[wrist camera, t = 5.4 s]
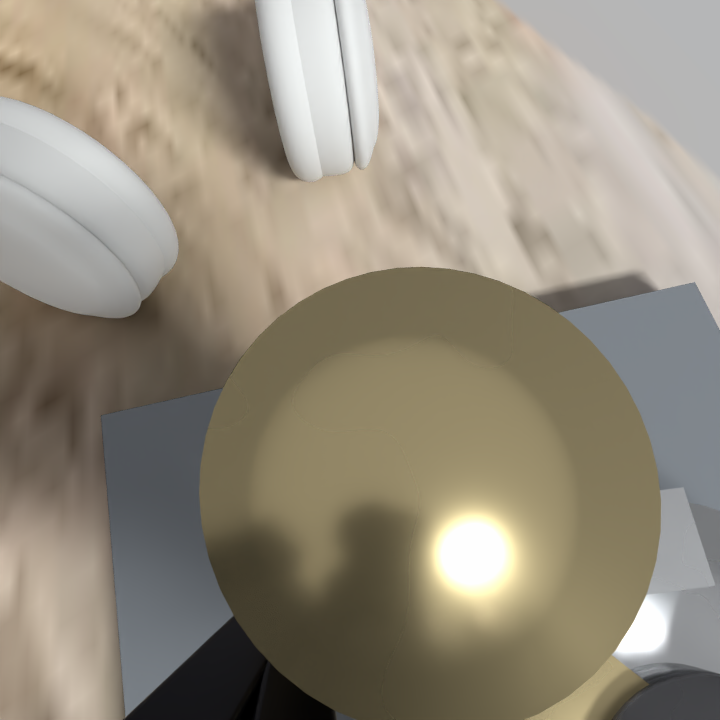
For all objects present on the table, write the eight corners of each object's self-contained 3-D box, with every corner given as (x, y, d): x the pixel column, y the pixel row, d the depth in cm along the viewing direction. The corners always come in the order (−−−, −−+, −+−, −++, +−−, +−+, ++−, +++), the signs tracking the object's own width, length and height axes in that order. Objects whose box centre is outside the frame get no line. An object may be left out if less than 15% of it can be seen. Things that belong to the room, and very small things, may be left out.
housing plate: (1025, 1019, 13) (1115, 1079, 12) (205, 1337, 12) (181, 1460, 10) (671, 302, 20) (698, 279, 19) (120, 427, 18) (98, 413, 17)
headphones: (484, -50, 16) (163, -216, 24) (-153, 300, 12) (-276, -46, 20) (464, 149, 22) (214, -36, 30) (45, 423, 18) (-111, 121, 26)
